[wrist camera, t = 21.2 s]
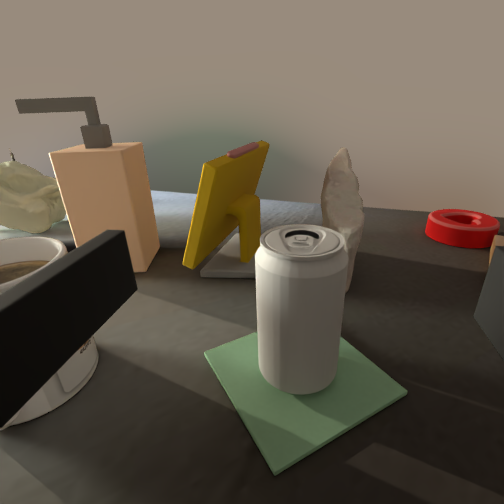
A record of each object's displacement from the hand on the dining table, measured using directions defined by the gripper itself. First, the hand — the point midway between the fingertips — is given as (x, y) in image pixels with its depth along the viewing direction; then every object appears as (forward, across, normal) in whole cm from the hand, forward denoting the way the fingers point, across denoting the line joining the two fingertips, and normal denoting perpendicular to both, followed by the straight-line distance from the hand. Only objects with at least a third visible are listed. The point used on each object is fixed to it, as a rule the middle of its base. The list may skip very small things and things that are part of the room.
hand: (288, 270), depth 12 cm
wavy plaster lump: (+39, -54, -15) cm, 68 cm away
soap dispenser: (+27, -29, -15) cm, 43 cm away
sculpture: (+28, +4, -15) cm, 33 cm away
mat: (+10, 0, -15) cm, 18 cm away
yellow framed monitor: (+30, -10, -15) cm, 35 cm away
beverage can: (+10, 0, -15) cm, 18 cm away
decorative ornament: (+43, +24, -15) cm, 52 cm away
